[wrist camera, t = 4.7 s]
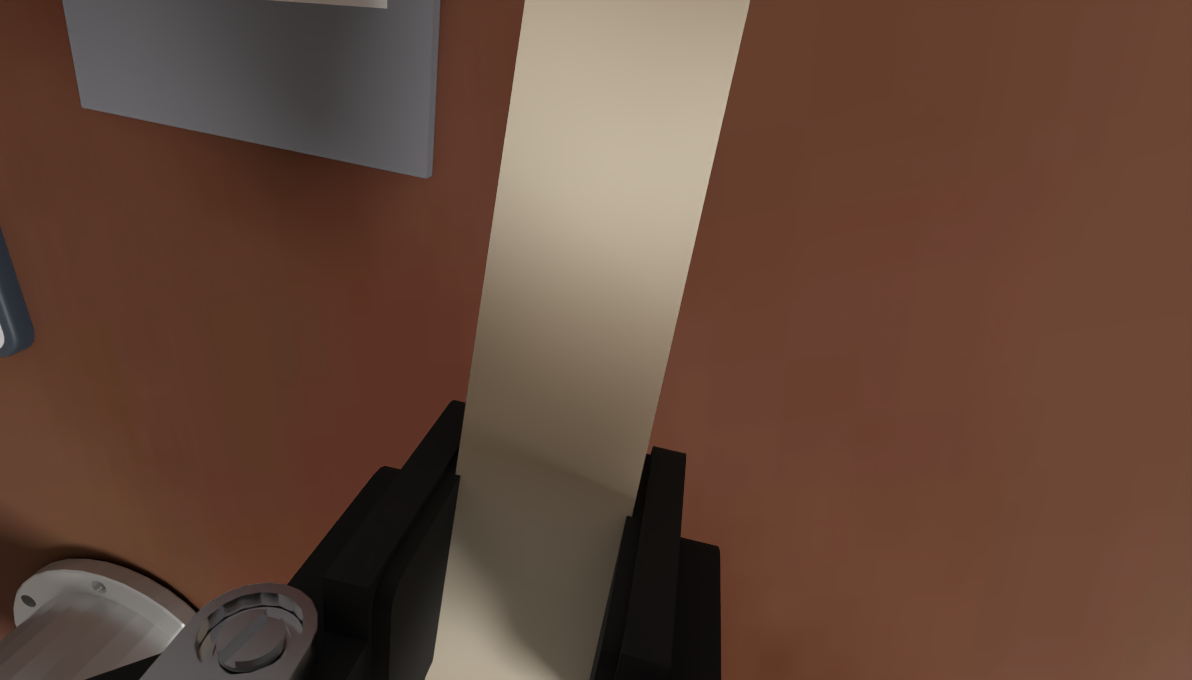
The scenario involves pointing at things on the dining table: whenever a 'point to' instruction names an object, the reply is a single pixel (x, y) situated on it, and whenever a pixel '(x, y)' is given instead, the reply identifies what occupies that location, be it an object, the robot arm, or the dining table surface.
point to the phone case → (12, 309)
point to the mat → (269, 73)
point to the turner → (577, 320)
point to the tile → (347, 2)
